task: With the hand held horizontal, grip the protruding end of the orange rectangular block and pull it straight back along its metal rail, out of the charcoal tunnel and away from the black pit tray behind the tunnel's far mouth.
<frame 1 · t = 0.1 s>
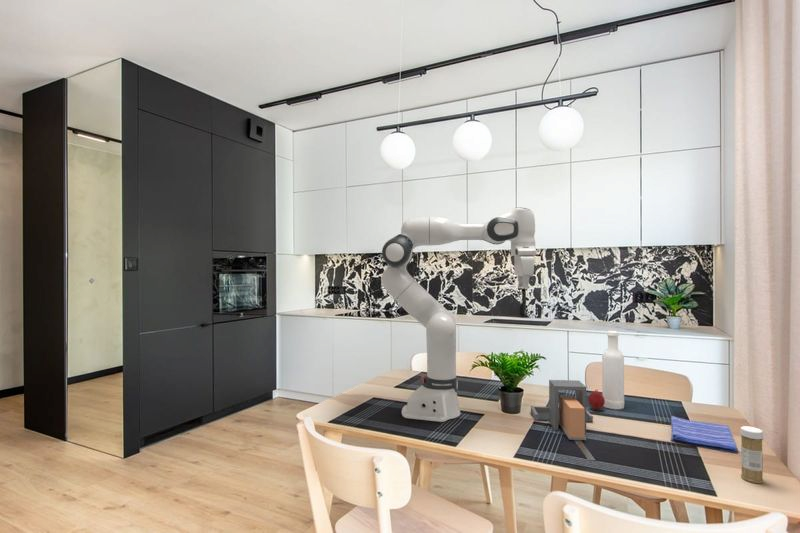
hand: (523, 288, 159), 48 cm above the table, tool pointing down, fingers open, 8 cm apart
onion: (596, 410, 166), on the table
orange rectangular block: (571, 416, 144), point 5 cm above the table, slide at 0.0 cm
sprinkles bottle: (751, 480, 112), on the table
bottle: (613, 406, 170), on the table
rail: (576, 439, 138), on the table
tunnel: (567, 426, 149), on the table
dish towel: (701, 437, 141), on the table
pit tray: (560, 417, 158), on the table
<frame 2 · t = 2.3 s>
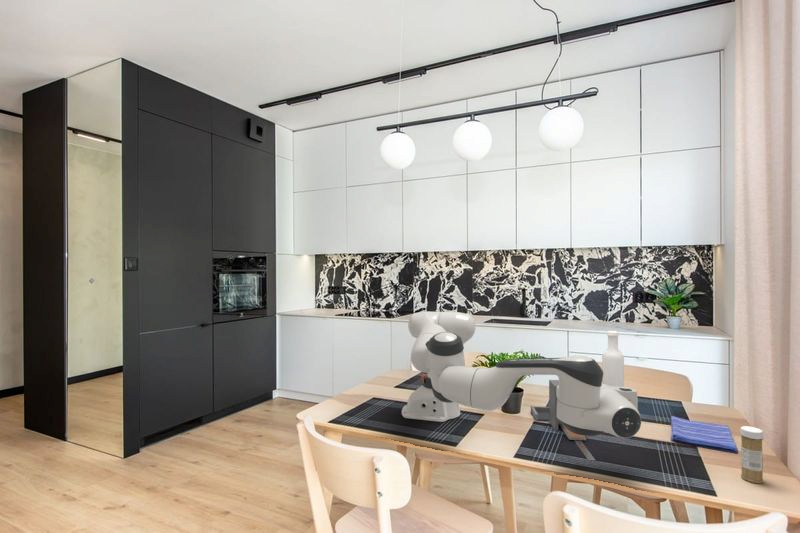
hand: (586, 387, 127), 20 cm above the table, tool horizontal, fingers open, 8 cm apart
nothing on the table moved.
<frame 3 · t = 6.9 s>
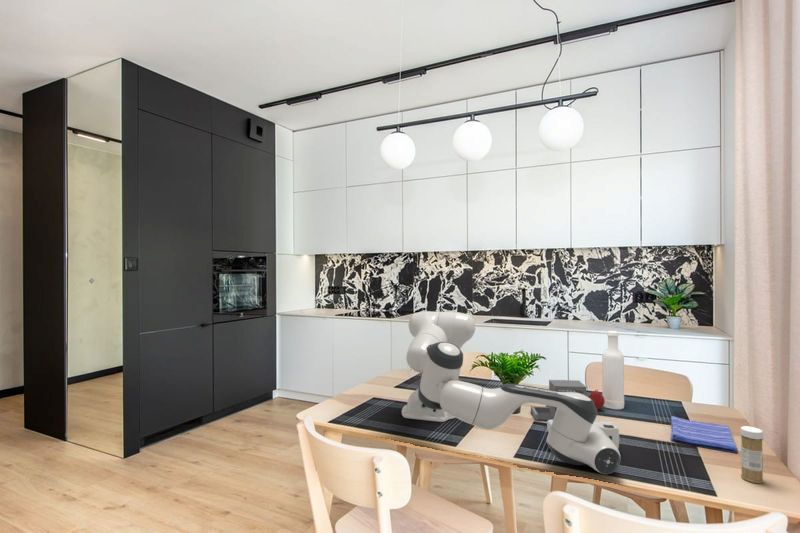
hand: (574, 420, 140), 6 cm above the table, tool horizontal, fingers closed on orange rectangular block, 4 cm apart
orange rectangular block: (571, 416, 144), point 5 cm above the table, slide at 0.0 cm, touching gripper
everything else where it was.
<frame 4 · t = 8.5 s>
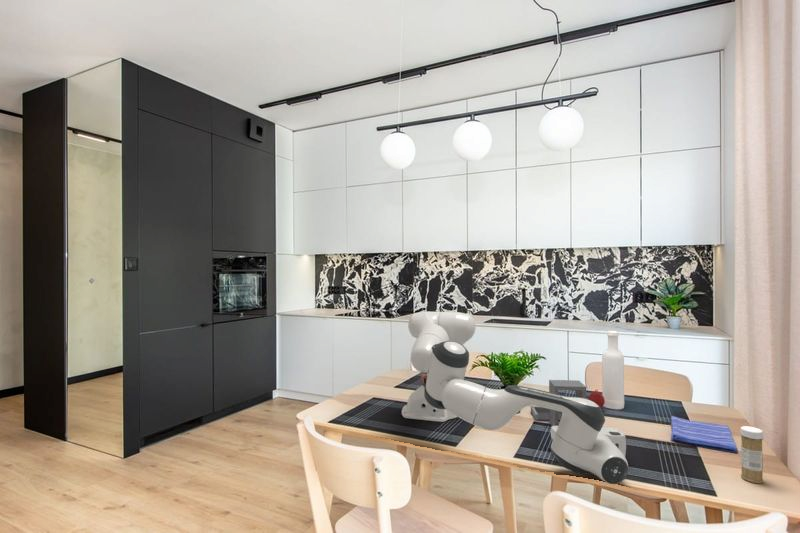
hand: (579, 426, 135), 5 cm above the table, tool horizontal, fingers closed on orange rectangular block, 4 cm apart
orange rectangular block: (575, 421, 139), point 5 cm above the table, slide at 4.7 cm, touching gripper
everything else where it was.
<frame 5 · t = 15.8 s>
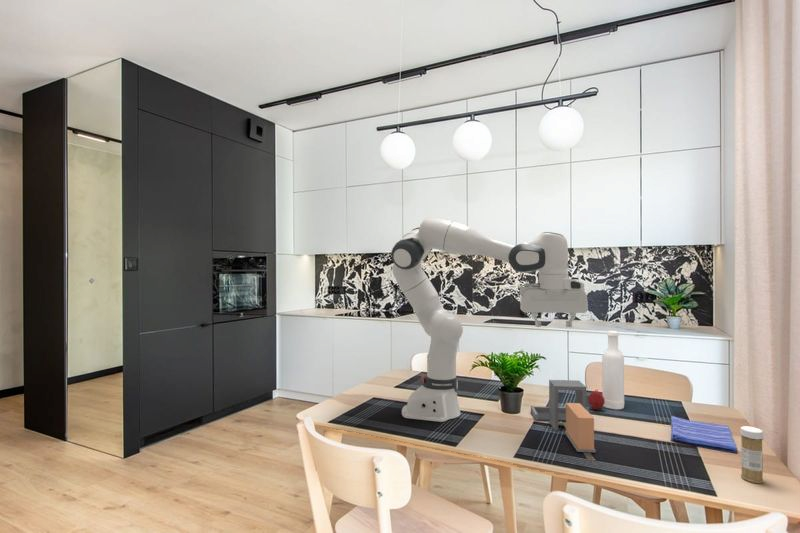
hand: (553, 326, 135), 37 cm above the table, tool pointing down, fingers open, 8 cm apart
orange rectangular block: (579, 426, 135), point 5 cm above the table, slide at 8.9 cm
everything else where it was.
at the end: orange rectangular block slide at 8.9 cm; orange rectangular block inside the target area (1.1 cm from its centre), resting on rail; the gripper is holding nothing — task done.
